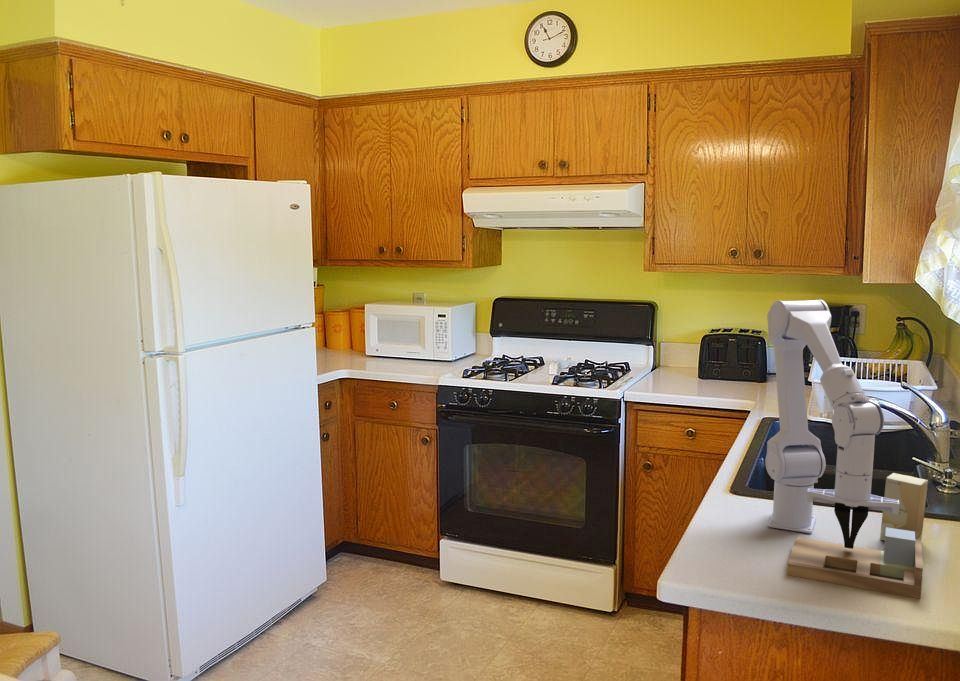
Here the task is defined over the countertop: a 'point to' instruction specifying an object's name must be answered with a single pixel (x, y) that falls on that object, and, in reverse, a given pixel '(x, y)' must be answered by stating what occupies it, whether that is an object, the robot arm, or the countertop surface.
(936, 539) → the countertop surface
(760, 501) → the countertop surface
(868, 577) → the board
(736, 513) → the countertop surface
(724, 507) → the countertop surface
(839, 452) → the robot arm
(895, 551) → the block
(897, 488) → the skincare box
